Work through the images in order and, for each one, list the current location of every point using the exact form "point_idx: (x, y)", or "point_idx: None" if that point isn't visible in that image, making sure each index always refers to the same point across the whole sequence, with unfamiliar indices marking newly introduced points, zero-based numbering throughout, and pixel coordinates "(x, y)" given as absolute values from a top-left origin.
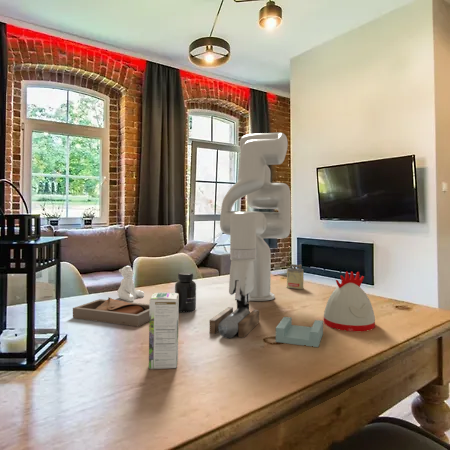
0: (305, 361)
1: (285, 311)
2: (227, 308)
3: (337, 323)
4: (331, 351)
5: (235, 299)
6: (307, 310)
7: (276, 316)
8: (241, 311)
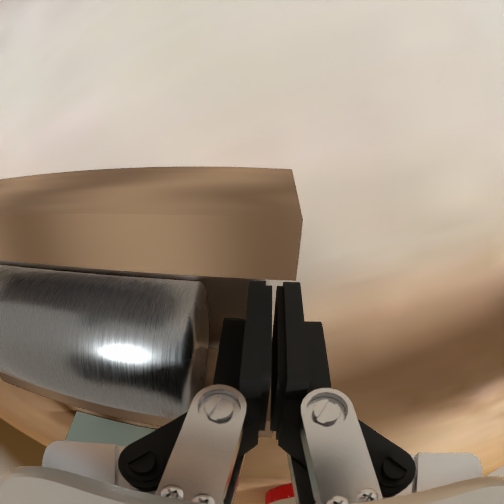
0: (39, 429)
1: (467, 400)
2: (222, 232)
3: (272, 502)
4: None
5: (50, 447)
6: (462, 433)
7: (396, 401)
8: (78, 398)
